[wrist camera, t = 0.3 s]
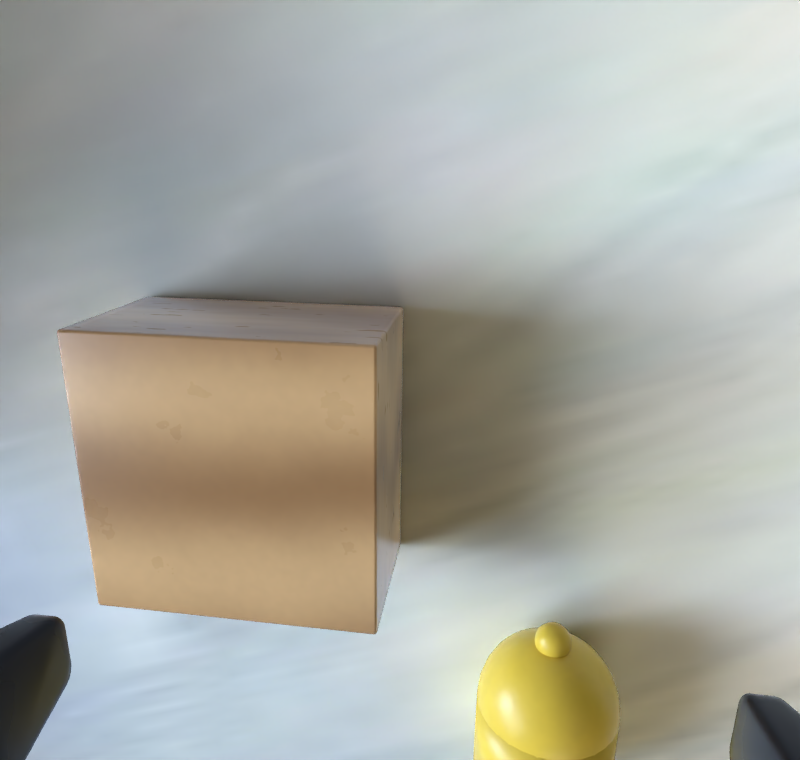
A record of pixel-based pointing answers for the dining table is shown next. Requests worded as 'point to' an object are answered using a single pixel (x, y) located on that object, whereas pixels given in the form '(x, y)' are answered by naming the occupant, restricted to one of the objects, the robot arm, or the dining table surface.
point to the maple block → (240, 457)
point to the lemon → (546, 700)
